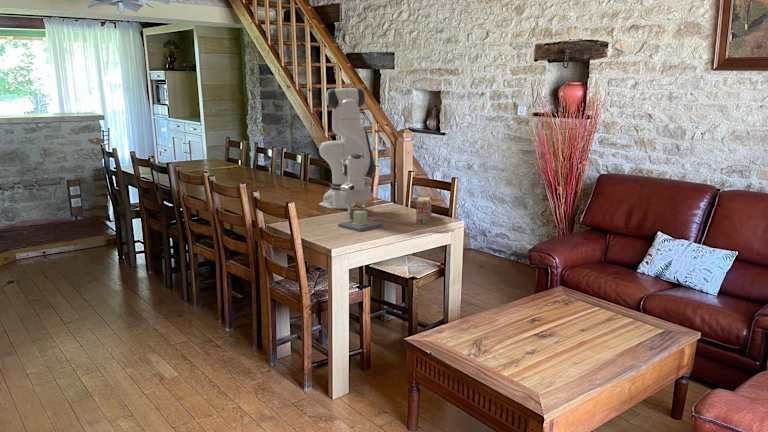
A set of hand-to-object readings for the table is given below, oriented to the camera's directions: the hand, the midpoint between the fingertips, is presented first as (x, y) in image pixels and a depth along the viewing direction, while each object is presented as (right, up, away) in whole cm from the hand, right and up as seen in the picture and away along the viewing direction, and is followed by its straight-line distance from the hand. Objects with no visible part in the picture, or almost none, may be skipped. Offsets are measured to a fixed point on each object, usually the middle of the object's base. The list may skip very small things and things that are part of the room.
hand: (356, 210), depth 329 cm
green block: (+3, -6, -15) cm, 17 cm away
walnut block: (0, -5, +2) cm, 5 cm away
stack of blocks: (+36, -5, -1) cm, 36 cm away
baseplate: (+3, -8, -15) cm, 17 cm away
